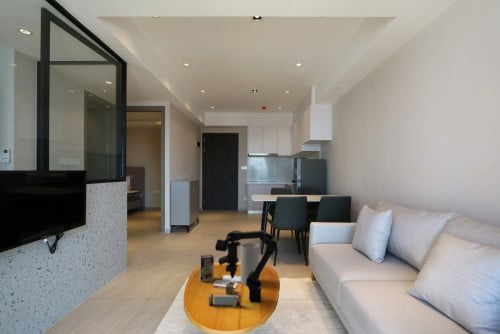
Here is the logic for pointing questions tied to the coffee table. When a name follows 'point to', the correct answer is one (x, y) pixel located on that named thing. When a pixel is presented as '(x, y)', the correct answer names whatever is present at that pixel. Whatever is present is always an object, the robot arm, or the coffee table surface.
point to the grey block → (224, 299)
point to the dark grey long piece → (237, 303)
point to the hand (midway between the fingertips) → (232, 278)
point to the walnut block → (229, 288)
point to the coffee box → (206, 268)
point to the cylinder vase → (248, 260)
